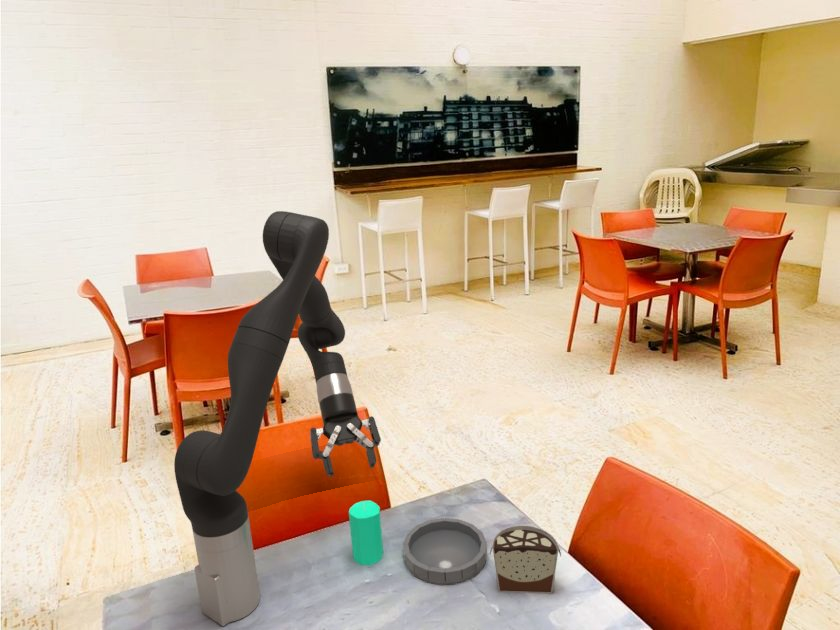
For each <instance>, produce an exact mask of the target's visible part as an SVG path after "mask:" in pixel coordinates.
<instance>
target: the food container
mask: <svg viewBox="0 0 840 630" xmlns="http://www.w3.org/2000/svg"><path fill="white" fill-rule="evenodd" d="M492 552H493V553H492ZM558 553H559V556H560V557H562V552H561V548H560V546H559V543H558V542H557V539H556V538H554V535H552V534H551V533H549V532H547V530H544V529H541V528H539V527H536V526H532V525H513V526H509V527H506V528H504V529H502V530H501V531H499V532H498V533H497V534H496V535H495V536H494V538H493V540H492V543H491V547H490V550H489V555H491V554H493V558H494V559H493V560H494V566H495V574H496V581H497V587H498V588H497V589H498V593H506V594H507V593H509V594H510V593H512V594H538V595H539V594H540V595H541V594H544V595H546V594H547V595H553V590H554V583H555V575H556V569H557V561H558Z"/></svg>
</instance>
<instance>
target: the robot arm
mask: <svg viewBox="0 0 840 630" xmlns="http://www.w3.org/2000/svg"><path fill="white" fill-rule="evenodd" d="M329 230H330V229H329V226H328V223H327V222H326V221H325V220H323V219H321V218H320V217H316V216H310V215H305V214H301V213H297V212H293V211H292V212H291V211H284V210H280V211H279V210H278V211H277V210H276V211H274V212H272V213H271V214H270V215H269V216H268V218H266V221H265V222H264V226H263V230H262V244H263V248H264V250H265V253H266V254H267V256H268V258H269V260H270V261H271V263H272V265H273V266H274V268H275V269H276V271H277V273H278V275H279V276H280V277H281V279H282V281H281V282H280V284H278V285H277V287H276V288H274V289H273V290H272V291H271V292H270V293H268V294H266V296H265V297H263V298H262V299H261V300H260V301H258V302H257V303H256V304H254V306H252V307H251V308H250V309H249V310H248V311H247V312H246V313H245V314H244V315H243V316H242V318H241V320H240V321H239V324H238V325H237V329H236V331H235V333H234V336H233V339H232V341H231V344H230V347H229V348H228V349H229V350H228V354H227V371H228V372H227V373H228V374H227V375H228V380H229V388H230V403H229V409H228V413H227V417H226V420H225V423H224V425H223V428H222V430H221V432H220V433H216V432H214V431H210V430H196V431H193V432H191V433H189V434H188V435H186V436H185V437H184V438H183V439H182V440H181V442H180V444H179V445H178V446H177V449H176V451H175V452H176V453H175V456H174V475H175V476H174V477H175V481H176V485H177V490H178V494H179V498H180V502H181V506H182V509H183V512H184V514H185V516H186V518H187V519H188V520H189V522H190V525H191V529H192V535H193V540H194V546H195V552H196V557H197V562H198V564H197V565H196V566H194V570H193V571H194V575H195V580H196V586H197V592H198V597H199V603H200V607H201V608H200V609H201V612H202V613H203V614H204V615H205V616H207V617H208V618H210V619H212V620H213V621H214V622H216V623H217V624H219V625H220V626H221V627H224V626H226V625H228V624H229V623H231V622H235V621H239V620H241V619H243V618H246V617H247V616H249V615H250V614H251V613H252V612H254V611H255V609H256V608H257V607H258V605H259V603H260V601H261V593H260V592H261V591H260V584H259V579H258V572H257V565H256V558H255V551H254V545H253V538H252V531H251V524H250V518H249V510H248V504H247V501H246V499H245V498H244V497H243V495H241V493H239V491H237V490H238V489H239V488H240V487H241V485H242V483H244V481H245V480H246V478H247V475H248V472H249V471H250V467H251V464H252V461H253V458H254V454H255V451H256V446H257V442H258V438H259V435H260V430H261V428H262V427H261V426H262V422H263V419H264V416H265V415H264V414H265V411H266V409H267V405H268V402H269V399H270V396H271V392H272V390H273V387H274V385H275V382H276V378H277V377H278V373H279V371H280V368H281V366H282V364H283V361H284V358H285V355H286V353H287V350H288V347H289V344H290V341H291V338H292V335H293V333H294V332H293V331H294V328H295V325H296V322H297V319H298V317H299V320H300V321H301V323H300V324H299V326H298V328H297V338H298V341H299V343H300V345H301V347H302V348H303V350H304V352H305V353H306V355H307V358H308V359H309V361H310V364H311V367H312V370H313V375H314V380H315V384H316V385H315V386H316V394H317V402H318V404H319V410H320V414H321V418H322V425H323V426H322V427H321V428H316V427H311V428H310V432H309V437H310V445H311V454H312V458H313V459H314V460H318V459H319V460H322V463H323V468H324V473H325V474H326V476H329V478H332V477H334V475H335V473H334V469H333V464H332V463H333V462H332V459H331V456H330V454H331V453H332V450H333V448H334V447H335V446H338V447H340V446H341V447H342V446H344V445H346V444H348V445H350V444H353V443H354V442H356V443H357V444H358V445H360V446H362V447H363V448H364V449H366V457H367V462H368V465H369V469H373V468H375V465H376V463H377V457H376V453H375V448H376V447H378V446H380V443H381V441H382V438H381V435H380V432H379V429H378V427H377V423H376V420H375V417H374V416H369V417H368V418H367V419H361V418H360V417H359V414H358V409H357V405H356V402H355V397H354V393H353V388H352V385H351V382H350V380H349V376H348V372H347V368H346V364H345V360H344V356H343V355H342V354H341V353H340V352H336V351H321V350H323V349H327V348H330V347H334V346H335V347H336V346H337V345H340V344H342V343H343V341H344V340H345V336H346V330H345V326H344V324H343V321H342V320H341V319H340V317H339V316H338V315H337V314H336V312H335V311H334V310H333V308H332V306H331V304H330V303H331V302H330V299H329V296H328V292H327V290H326V288H325V286H324V284H323V283H322V282H321V280H319V278H318V277H317V273H318V270H319V268H320V265H321V263H322V262H323V259H324V255H325V254H326V251H327V247H328V243H329V236H330V231H329ZM362 427H364V428H365V429H366V430H369V434H370V436H371V440H370V439H369V438H368V437H367V436H366V435H365V433H363V432H362V431H361V430H362ZM321 435H324V437H325V438H327V439H328V441H327V443H326V446H325V447H324V450H320V446H319V440H320V439H321Z"/></svg>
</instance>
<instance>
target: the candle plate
mask: <svg viewBox="0 0 840 630" xmlns="http://www.w3.org/2000/svg"><path fill="white" fill-rule="evenodd" d="M402 548H403V549H402V551H403V556H404V558H403V559H404V563H405V566H406V568H407V570H408V571H409V572H410V574H412V575H413V576H414V577H416V578H417V579H419V580H421V581H422V582H426V583H428V584H434V585H439V586H440V585H441V586H445V585H446V586H448V585H450V584H451V585H456V583H457V584H461V583H464V582H466V581H468V580H469V581H470V580H471V579H472V578H474V577H476V576H477V575H478V574H479V573H480V572H481V571H483V568H484V566H485V564H486V561H487V554H488V553H487V552H488V544H487V540H486V538H485V536H484V533H483V531H481V530H480V529H479V528H478V527H476V526H475V525H474V524H473V523H471V522H468V521H465V520H462V519H459V518H450V517H443V518H435V519H429V520H426V521H424V522H422V523H419V524H417V525H415V526H414V527H413V528H412V529H411V530H410V531H409V532H408V533H407V534H406V535H405V538H404V540H403V543H402Z"/></svg>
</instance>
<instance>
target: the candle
mask: <svg viewBox="0 0 840 630" xmlns="http://www.w3.org/2000/svg"><path fill="white" fill-rule="evenodd" d="M348 517H349V519H348V520H349V530H350V540H351V550H352V558H353V561H354V562H355V563H356V564H359V565H361V566H372V565H373V564H376V563H378V562H380V560H382V559H383V554H384V545H383V535H382V534H383V532H382V521H381V518H382V517H381V507H380V506H379V505H378V503H376V502H374V501H373V500H361V501H358V502H355V503H354V504H353V505H352V506H351V507H349V510H348Z"/></svg>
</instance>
